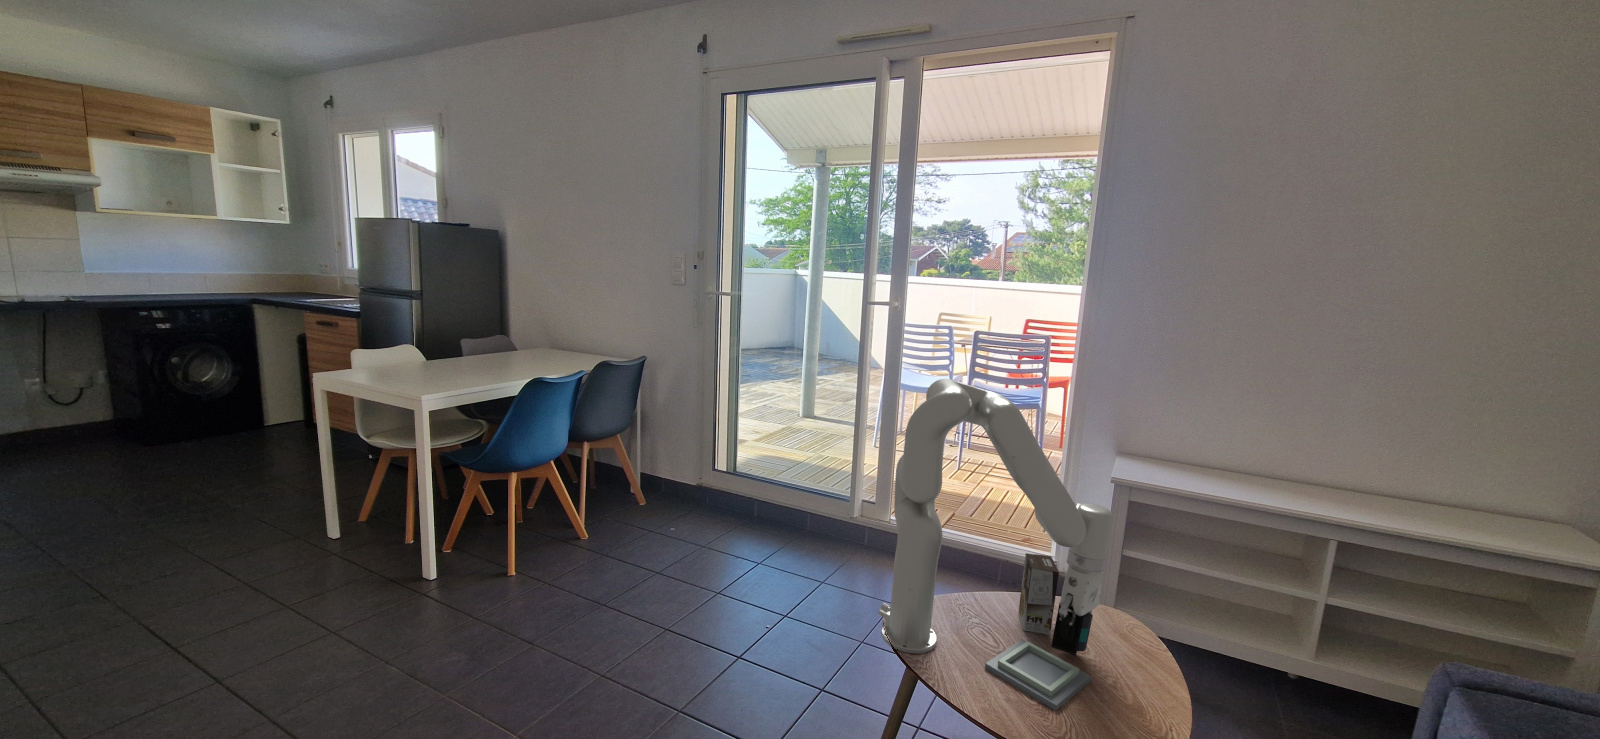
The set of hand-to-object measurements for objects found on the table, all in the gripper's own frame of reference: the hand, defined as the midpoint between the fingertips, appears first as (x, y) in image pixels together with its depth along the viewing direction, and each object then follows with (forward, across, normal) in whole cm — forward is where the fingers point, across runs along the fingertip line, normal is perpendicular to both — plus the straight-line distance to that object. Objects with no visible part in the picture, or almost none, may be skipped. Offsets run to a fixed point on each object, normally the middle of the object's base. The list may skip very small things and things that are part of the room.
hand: (1072, 632), depth 139 cm
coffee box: (+5, +5, +11) cm, 13 cm away
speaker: (+3, -1, 0) cm, 3 cm away
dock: (+5, -14, 0) cm, 15 cm away
